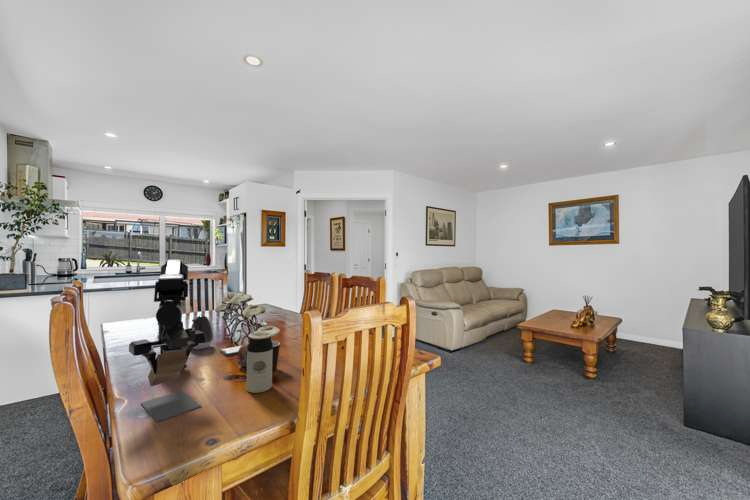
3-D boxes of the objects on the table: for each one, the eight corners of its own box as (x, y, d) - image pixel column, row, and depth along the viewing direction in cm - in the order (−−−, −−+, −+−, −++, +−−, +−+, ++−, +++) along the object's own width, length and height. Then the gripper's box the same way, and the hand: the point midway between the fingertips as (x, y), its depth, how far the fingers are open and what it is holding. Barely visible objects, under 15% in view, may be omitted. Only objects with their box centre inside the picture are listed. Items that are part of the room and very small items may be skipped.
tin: (242, 369, 121) (242, 348, 121) (235, 369, 122) (235, 347, 122) (263, 357, 136) (264, 337, 136) (257, 356, 137) (257, 337, 137)
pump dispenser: (182, 350, 143) (183, 317, 143) (199, 344, 153) (200, 312, 153) (201, 352, 141) (202, 318, 141) (218, 345, 151) (218, 314, 151)
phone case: (254, 346, 153) (219, 352, 142) (254, 343, 153) (219, 349, 142) (261, 350, 147) (226, 357, 136) (262, 347, 147) (226, 354, 136)
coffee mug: (284, 367, 124) (284, 342, 124) (269, 375, 116) (270, 348, 116) (259, 364, 128) (260, 339, 128) (244, 371, 119) (245, 345, 120)
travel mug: (251, 383, 109) (252, 331, 109) (274, 383, 109) (275, 331, 109) (242, 393, 101) (244, 337, 101) (268, 393, 101) (269, 337, 101)
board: (147, 376, 96) (157, 354, 90) (173, 369, 101) (184, 349, 96) (150, 386, 94) (160, 365, 89) (176, 379, 99) (187, 359, 94)
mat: (140, 404, 93) (140, 402, 93) (181, 391, 101) (181, 390, 101) (157, 422, 83) (157, 420, 83) (201, 406, 92) (201, 405, 92)
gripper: (140, 328, 82) (139, 388, 82) (214, 317, 96) (213, 368, 96) (128, 321, 89) (127, 377, 89) (199, 312, 103) (198, 360, 103)
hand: (169, 370), depth 94 cm, fingers closed on board, 7 cm apart
